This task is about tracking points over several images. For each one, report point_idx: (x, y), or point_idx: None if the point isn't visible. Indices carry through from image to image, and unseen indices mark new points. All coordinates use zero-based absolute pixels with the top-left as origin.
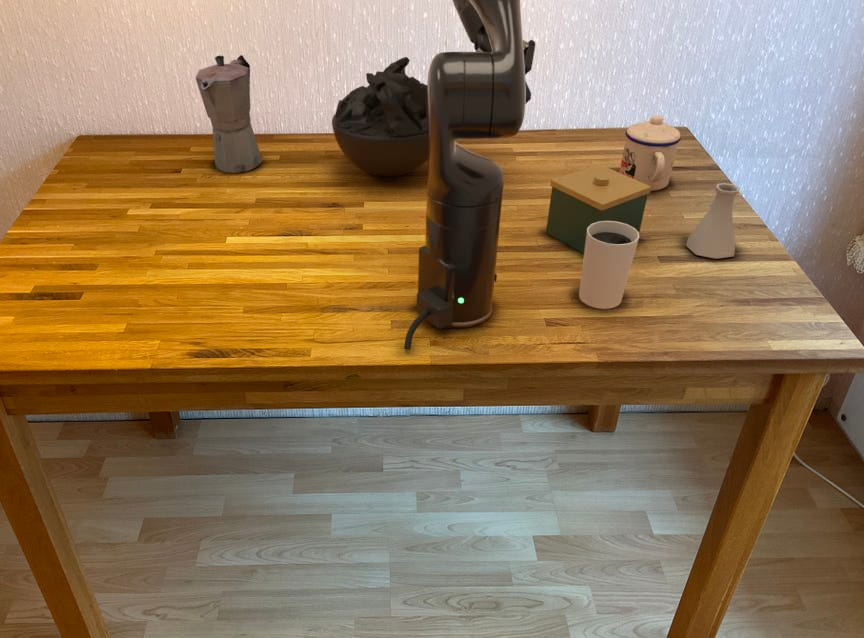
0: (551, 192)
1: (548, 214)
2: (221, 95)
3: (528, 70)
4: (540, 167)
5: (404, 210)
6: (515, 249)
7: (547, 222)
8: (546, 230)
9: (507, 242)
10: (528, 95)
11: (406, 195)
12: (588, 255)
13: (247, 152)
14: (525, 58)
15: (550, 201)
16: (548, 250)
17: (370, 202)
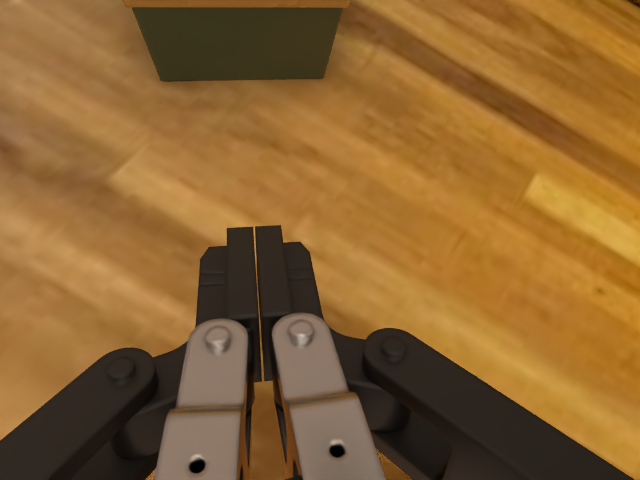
0: (340, 15)
1: (329, 53)
2: None
3: (139, 349)
4: None
5: (566, 375)
6: (434, 60)
7: (326, 63)
8: (324, 73)
9: (430, 95)
10: (241, 233)
11: None
12: None
13: None
14: (75, 467)
15: (335, 31)
16: (371, 16)
17: (626, 469)
